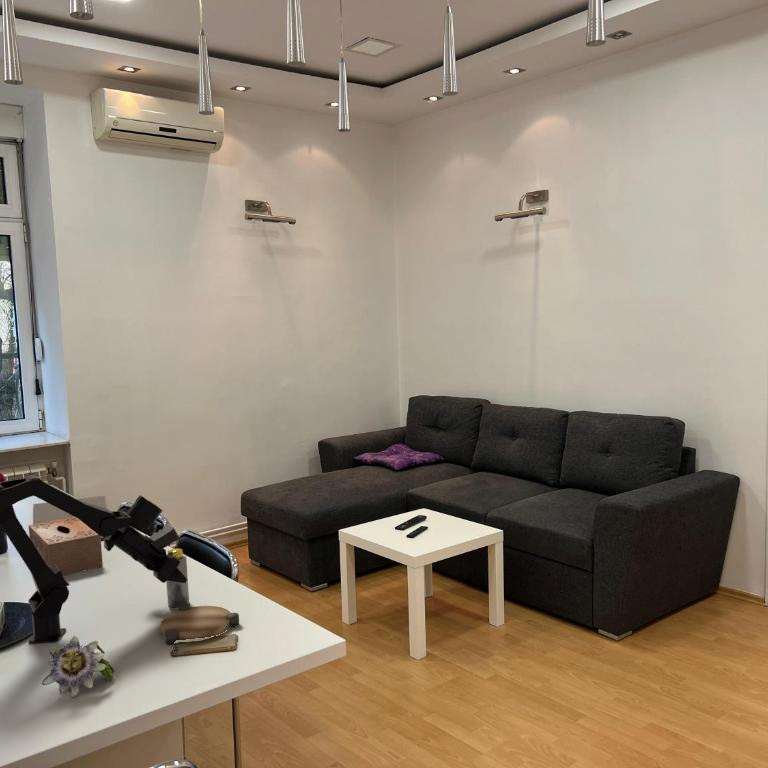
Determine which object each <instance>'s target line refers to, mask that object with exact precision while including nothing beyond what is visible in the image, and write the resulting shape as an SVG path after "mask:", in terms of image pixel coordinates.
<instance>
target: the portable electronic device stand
mask: <svg viewBox="0 0 768 768" xmlns="http://www.w3.org/2000/svg"><path fill="white" fill-rule="evenodd" d="M77 499H78V500H80V501H82V502H85V503H88V504H92V505H96V506H99V507H103V508H106V509H108V508H107V502H106V495H99V496H98V495H97V496H90V497H89V496H88V497H81V498H77ZM32 506H33V507H32V525H33V524H38V523H44V522H49V521H55V520H60V519H66V518H71V517H74V516H72V515H70V514H69V513H67V512H65V511H63V510H61V509H59V508H57V507H55V506H53V505H51V504H49V503H47V502H39V503H34V504H33V505H32ZM104 538H106V537H102V536H101V540H102V539H104Z"/></svg>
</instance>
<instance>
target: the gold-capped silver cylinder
mask: <svg viewBox="0 0 768 768" xmlns="http://www.w3.org/2000/svg"><path fill="white" fill-rule="evenodd" d="M167 554H171V555H172V556H174V557H175V558H176V559H178V560H179V561H180V564H179V565H178V567H177V568H178V569H179V570H180V571H181V573H182V574H183V575H184V576H185V577H186V578H187V581H186V583H180V582H173V581H166V582H165V583H166V594H167V596H166V597H167V607H168V608H169V609H171V608H178V606H180V605H184V604H189V605H190V592H189V591H190V589H189V578H188V575H189V574H188V563H187V562H188V560H187V556H186V555H184V552H183V549H182V548H172V549H169V550H168V551H167Z"/></svg>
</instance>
